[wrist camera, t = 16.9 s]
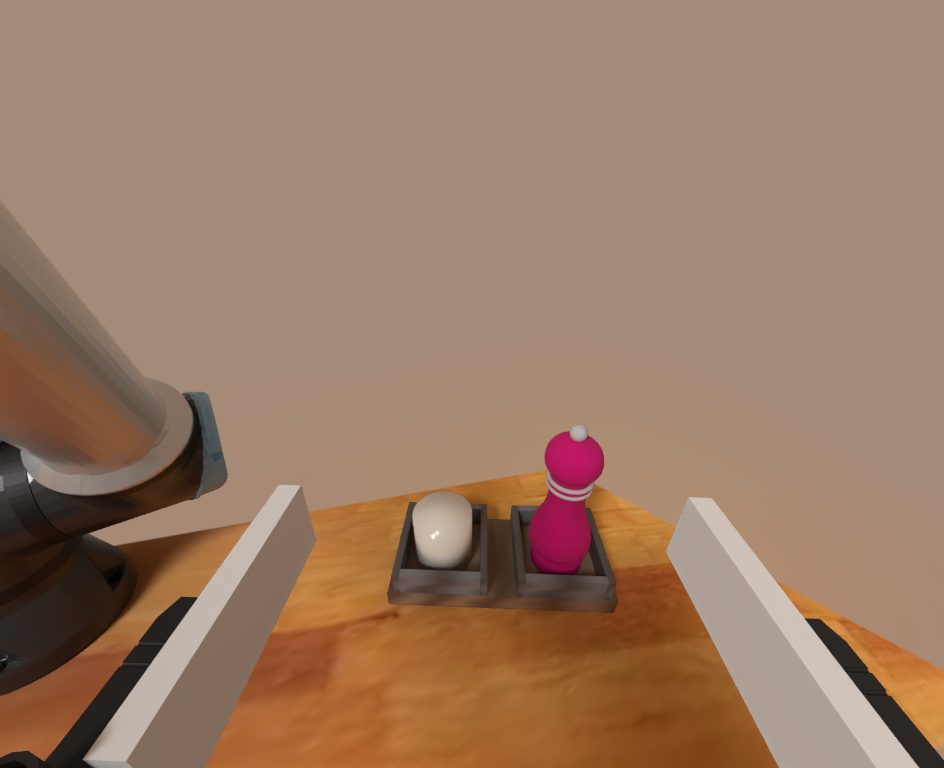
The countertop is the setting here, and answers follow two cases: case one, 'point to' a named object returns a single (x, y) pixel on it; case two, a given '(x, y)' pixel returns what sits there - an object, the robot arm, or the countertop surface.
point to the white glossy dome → (443, 531)
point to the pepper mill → (565, 503)
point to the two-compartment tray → (503, 571)
